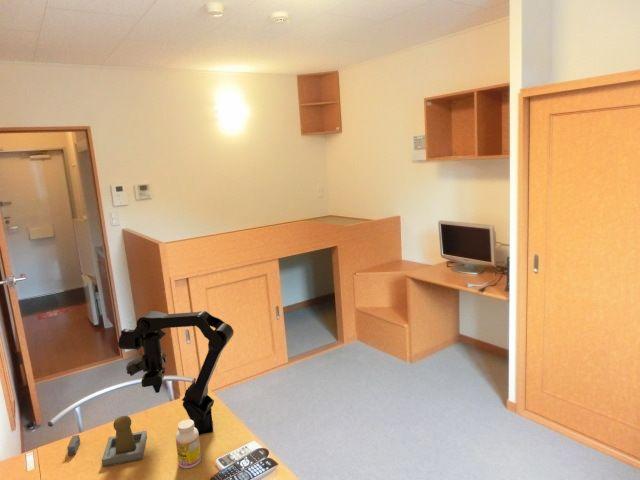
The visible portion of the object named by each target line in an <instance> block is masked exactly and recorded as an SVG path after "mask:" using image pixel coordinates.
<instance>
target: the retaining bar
mask: <svg viewBox="0 0 640 480" xmlns="http://www.w3.org/2000/svg"><path fill="white" fill-rule="evenodd" d="M80 445H81V437H80V435H79V434H77V435H72V437H71V438H70V441H69V443H68V444H67V449H66V450H67V456H68V457H70V456H75V455H77V453H78V450H79V448H80Z"/></svg>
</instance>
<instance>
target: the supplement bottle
mask: <svg viewBox="0 0 640 480" xmlns="http://www.w3.org/2000/svg"><path fill="white" fill-rule="evenodd" d="M175 443H176V453H177V460H178V465H179V467H181V468H182V469H191V468H194V467H196V466H197V465H199V463H200V462H201V460H202V453H201V444H200V435H199V433H198V430H197V429H196V428H195V427H194V421H193V420H191V419H190V418H188V419H183V420H182V421H180V422H178V424H177V432H176V434H175Z"/></svg>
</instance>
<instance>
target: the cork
mask: <svg viewBox="0 0 640 480" xmlns="http://www.w3.org/2000/svg"><path fill="white" fill-rule="evenodd" d="M131 426H132V419H131V417H130V416H128V415H121V416H118V417H116V418H115V420H114V421H113V429H114V430H115V436H116V454H123V453H128V452H133V451H135V449H136V444H135V441H134V437H133V434H132V433H133V430H132V429H131Z"/></svg>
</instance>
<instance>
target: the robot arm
mask: <svg viewBox="0 0 640 480" xmlns="http://www.w3.org/2000/svg"><path fill="white" fill-rule="evenodd" d="M185 327H196V328H198V329H199V330H200V332H201V334H202V335H203V337H204V338H206V339H207V340H208V344H207V348H208V350H207V354H206V356H205V359H204V361H203V363H202V365H201V369H200V371H199V374H198V375H197V378H196V381H192V382H191V384H190V385H189V386H188V388H186V390H185V392H184V397H183V398H182V399H181V401H182V407H183V408H184V410H185V412H186V414H187V416H188V419H189V420H193V421H194V427H195V428H196V429H197V430H198V433H199V436H200V435H207V434H211V433H213V432H214V420H213V413H212V407H213V406H214V402H215V400H214V399H213V398H212V397H210V396H209V395H208V394H209V383H210V381H211V378H212V376H213V374H214V371H215V369H216V366H217V364H218V362H219V359H220V357H221V354H222V352H223V350H224V349H225V347H227V345H228V344H229V342H230V341H231V338H233V336H234V333H235V331H234V328H233V327H232V326H231V324H229V323H226V322H225V321H223V320H222V319H221V318H219V317H216V316H214V315H211V314H210V313H209V312H208V311H206V310H201V311H191V312H180V313H178V312H177V313H164V312H162V311H157V310H156V311H155V310H151V311H150V310H149V311H148V312H146V313H145V314H144V315H142V316H141V317H139V318H138V319H137V321H136V327H135V329H128V328H124V329H122V330H121V331H120V336H119V338H118V342H117V344H118V348H119V350H124V351H127V350H128V351H129V350H131V351H138V350H141V348H142V351H143V353H142V356H139V357H137V358H135V359H132V360H131V361H128V363H127V364H126V367H125V370H126V374H128V375H129V376H130V377H133V376H134V375H136V374H138V373H140V372H143V373H144V374H143V375H142V376H141V377H142V378H141V382H140V383H141V387H142V388H146V387H152V388H153V390H154V392H155V393H156V394H158V393H160V391H161V388H162V384H163V382H164V377H165V373H166V367H164V364H167V360H168V359H167V354H165V353H164V352H163V348H162V344H161V343H162V342H161V339H163V337H165V336H166V335H167V333H166V332H165V331H163V329H169V328H170V329H171V328H173V329H174V328H185ZM213 328H214V329H213ZM145 372H146V373H145Z"/></svg>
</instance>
